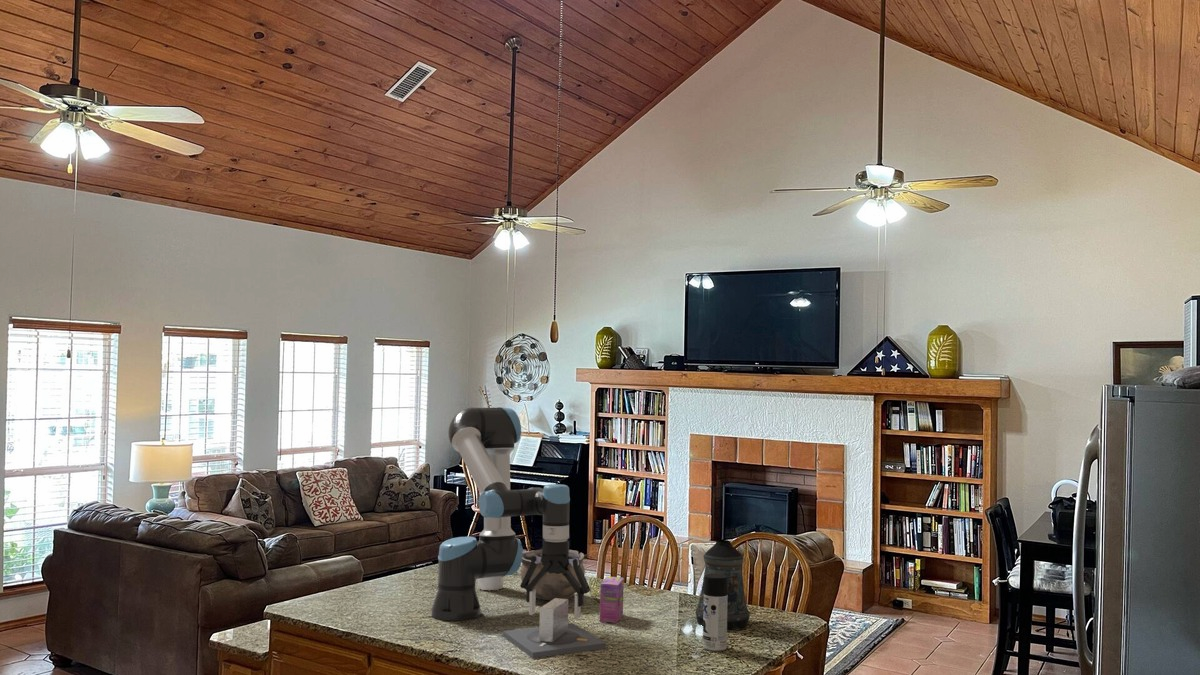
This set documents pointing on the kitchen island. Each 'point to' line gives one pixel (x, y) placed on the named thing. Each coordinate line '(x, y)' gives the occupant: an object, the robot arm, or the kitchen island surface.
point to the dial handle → (553, 620)
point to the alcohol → (490, 583)
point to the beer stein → (728, 563)
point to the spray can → (715, 612)
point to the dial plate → (564, 644)
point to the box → (611, 599)
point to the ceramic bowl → (551, 577)
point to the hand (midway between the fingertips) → (554, 616)
